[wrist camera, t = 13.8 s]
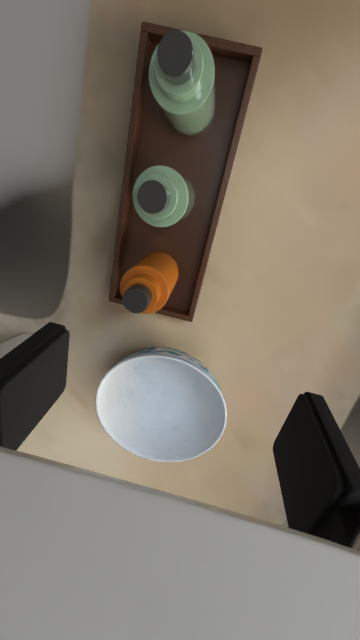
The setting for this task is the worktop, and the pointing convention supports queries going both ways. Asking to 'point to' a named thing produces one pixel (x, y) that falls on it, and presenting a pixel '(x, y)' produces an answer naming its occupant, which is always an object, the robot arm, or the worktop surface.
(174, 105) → the green bottle
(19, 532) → the robot arm
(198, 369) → the chinaware
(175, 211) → the green bottle
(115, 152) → the worktop surface
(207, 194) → the tray
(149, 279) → the amber bottle
